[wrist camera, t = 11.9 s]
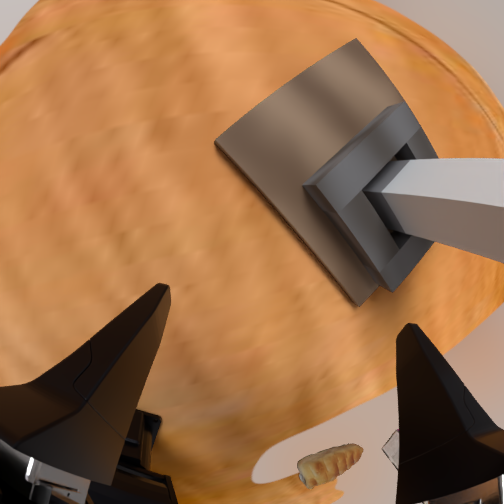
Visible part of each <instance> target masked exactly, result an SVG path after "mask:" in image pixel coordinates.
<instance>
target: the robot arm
mask: <svg viewBox="0 0 504 504" xmlns="http://www.w3.org/2000/svg"><path fill="white" fill-rule="evenodd" d="M170 306H171V294H170V286H169V285H167V284H162V283H158V284H156V285H155V286H154V287H152V288H151V289H150V290H149V291H147V292H146V293H145V294H144V295H142V296H141V297H140V298H139V299H137V300H136V301H135V302H134V303H132V304H131V305H130V306H129V307H128V308H126V309H125V310H124V311H123V312H121V313H120V314H119V315H118V316H117V317H115V318H114V319H113V320H112V321H111V322H109V323H108V324H107V325H106V326H105V327H103V328H102V329H101V330H100V331H99V332H97V333H96V334H95V335H94V336H93V337H91V338H90V340H88V341H87V342H85V343H84V344H83V345H82V346H81V347H79V348H78V349H77V350H76V351H75V352H73V353H72V354H71V355H69V356H68V357H67V358H65V359H64V360H62V361H61V362H60V363H58V364H57V365H55V366H54V367H52V368H51V369H49V370H48V371H47V372H45V373H44V374H42V375H41V376H39V377H38V378H36V379H35V380H33V381H31V382H28V383H25V384H21V385H13V386H5V387H0V504H178V502H177V498H176V495H175V491H174V488H173V484H172V481H171V477H170V476H168V475H161V474H158V473H155V472H152V471H150V460H151V450H152V447H153V444H154V441H155V438H156V435H157V432H158V429H159V426H160V423H161V418H160V417H159V416H157V415H154V414H150V413H146V412H143V411H140V410H136V407H137V404H138V401H139V399H140V396H141V393H142V390H143V388H144V385H145V382H146V380H147V377H148V374H149V372H150V369H151V366H152V364H153V361H154V359H155V356H156V354H157V351H158V348H159V346H160V343H161V339H162V336H163V332H164V328H165V324H166V320H167V317H168V313H169V310H170ZM396 378H397V392H398V411H399V465H398V482H397V494H396V504H416V503H421V502H425V501H428V504H504V430H503V429H501V428H499V427H498V426H497V425H496V424H495V423H494V422H493V421H492V419H491V418H490V417H489V416H488V414H487V413H486V412H485V411H484V410H483V408H482V407H481V406H480V405H479V403H478V402H477V401H476V400H475V398H474V397H473V396H472V394H471V393H470V392H469V390H468V389H467V387H466V386H464V383H463V382H462V381H461V379H460V378H459V377H458V375H457V374H456V373H455V371H454V370H453V369H452V367H451V366H450V365H449V364H448V362H447V361H446V360H445V359H444V357H443V356H442V354H441V353H440V352H439V351H438V349H437V348H436V347H435V346H434V344H433V343H432V342H431V341H430V339H429V338H428V337H427V336H426V335H425V333H424V332H423V331H422V330H421V329H420V327H419V326H418V325H417V324H413V323H408V324H406V325H405V326H404V328H403V329H402V330H401V332H400V333H399V334H398V336H397V338H396ZM155 419H156V420H155Z"/></svg>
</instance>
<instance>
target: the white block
mask: <svg viewBox="0 0 504 504" xmlns="http://www.w3.org/2000/svg"><path fill="white" fill-rule="evenodd" d="M362 191H363V193H364V194H365V196H366V197H367V199H368V200H369V202H370V203H371V205H372V206H373V208H374V209H375V211H376V212H377V214H378V216H379V217H380V219H381V220H382V222H383V223H384V225H385V227H386V228H387V229H391V230H395V231H399V232H402V233H406V234H410V235H413V236H417V237H421V238H424V239H428V240H431V241H435V242H438V243H441V244H445V245H448V246H452V247H455V248H458V249H461V250H465V251H468V252H471V253H474V254H477V255H480V256H483V257H487V258H490V259H493V260H496V261H498V262H501V263H504V159H494V158H446V159H418V160H400V161H389V162H388V163H387V164H386V165H385V166H384V167H383V168H382V169H381V170H380V171H379V172H378V173H377V174H376V175H375V176H374V177H373V178H372V179H371V181H370V182H369V183H368V184H367V185H366V186H365V187H364V188H363V189H362Z"/></svg>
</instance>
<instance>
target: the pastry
mask: <svg viewBox="0 0 504 504" xmlns="http://www.w3.org/2000/svg"><path fill="white" fill-rule="evenodd" d="M362 452H363V448H362V447H360V446H359V445H356V444H349V443H348V444H347V445H345V444H344V445H342V446H338V447H332V448H329V449H325V450H322V451H319V452H318V453H316V454H310V455H308V456H305V457H304V458H302V459H301V460H299V461H298V463H297V468H298V470H299V471H300V474H299V477H300V479H301V481H302V482H303V483H304V484H305V486H306V487H307V488H308V489H313V488H314V486H317V485H320V484H324V483H327V482H330V481H333V480H334V479H336V477H337V476H339V475H341V474H343V473H344V472H345V471H346V470H348V469H350V468H351V466H352V465H354V464H355V463H356V462H357V461H358V460H359V459H360V457H361V454H362Z"/></svg>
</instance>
